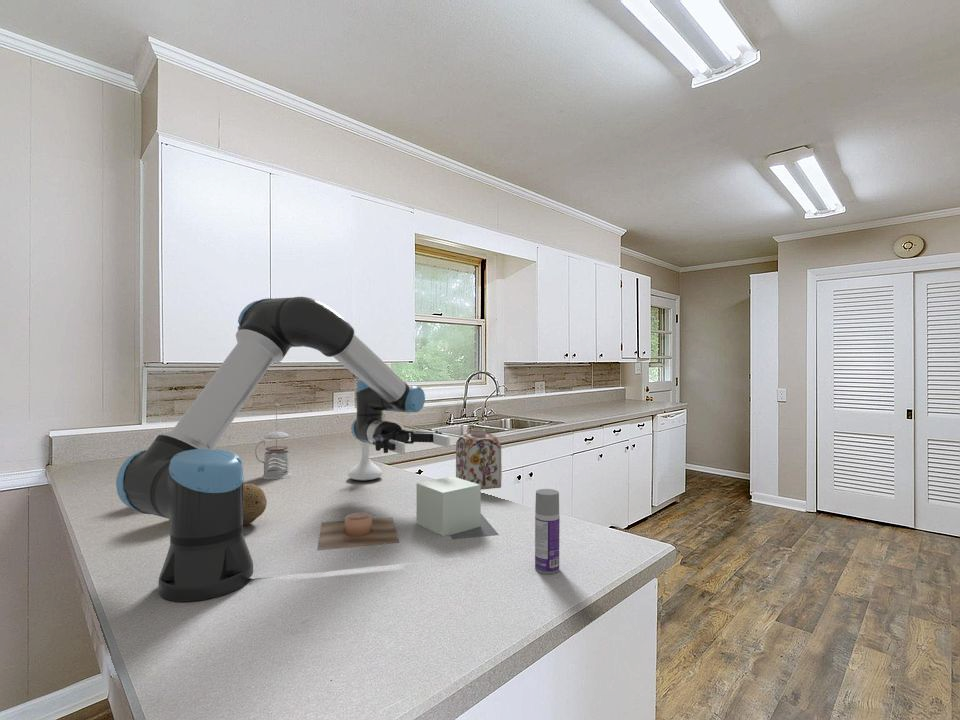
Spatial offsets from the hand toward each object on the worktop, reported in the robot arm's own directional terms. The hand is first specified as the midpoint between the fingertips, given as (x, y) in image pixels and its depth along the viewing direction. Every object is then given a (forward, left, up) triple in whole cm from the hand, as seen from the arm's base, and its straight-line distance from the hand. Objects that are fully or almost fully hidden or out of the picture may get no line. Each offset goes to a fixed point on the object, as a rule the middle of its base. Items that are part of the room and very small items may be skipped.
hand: (426, 445), depth 128 cm
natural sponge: (+6, +43, -19) cm, 47 cm away
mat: (-8, -4, -19) cm, 21 cm away
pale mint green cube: (-8, -4, -18) cm, 20 cm away
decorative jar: (+29, -21, -19) cm, 41 cm away
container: (-36, -18, -19) cm, 44 cm away
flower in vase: (+46, +13, -19) cm, 51 cm away
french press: (+58, +44, -19) cm, 75 cm away
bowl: (-8, +17, -18) cm, 26 cm away
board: (-8, +17, -19) cm, 27 cm away
